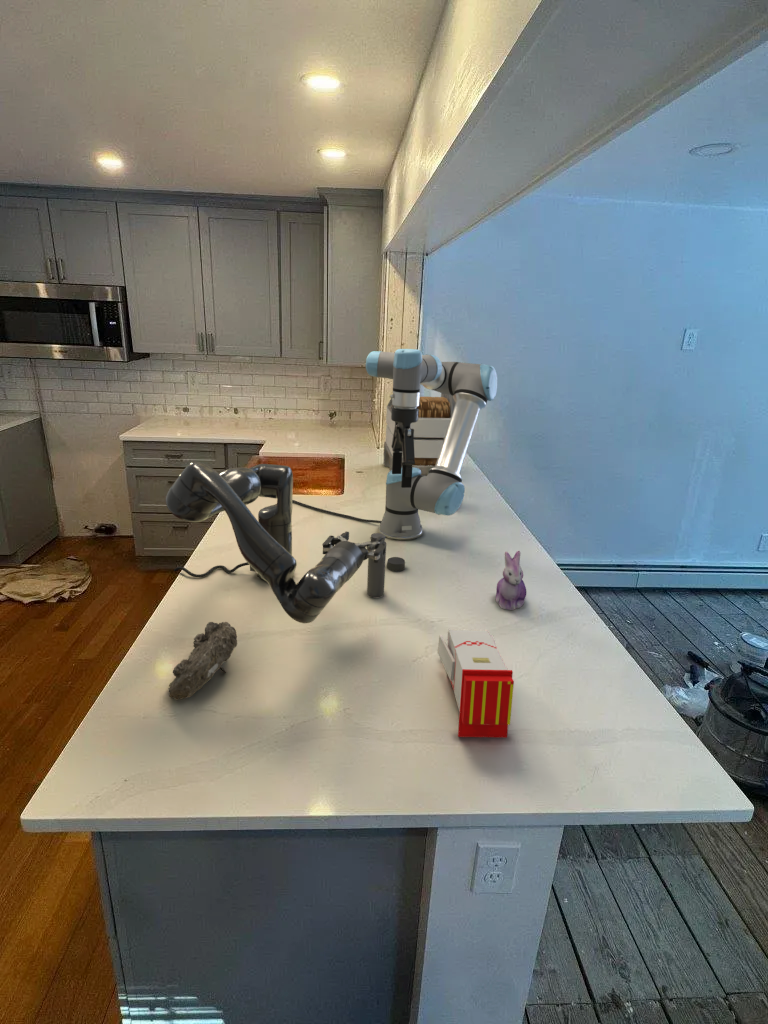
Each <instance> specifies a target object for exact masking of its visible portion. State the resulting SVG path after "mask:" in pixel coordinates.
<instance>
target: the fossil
mask: <svg viewBox="0 0 768 1024" xmlns="http://www.w3.org/2000/svg"><path fill="white" fill-rule="evenodd" d="M237 635H238V634H237V629H236V628H235V627H234V626H231V624H230V623H229V622H228V621H225V622H224V621H222V622H219V623H218V622H214V621H209V622H208V623H207V624H206V625H205V628H204V632H203V633H201V632H200V633H198V634H197V635H195V636H194V638H193V649H192V650H191V652H190V654H189V656H188V658H187V659H182V660H181V661H180V662H178V663H177V664H176V666H174V668H173V670H172V674H173V676H174V677H175V678H174V679H173V681H172V682H170V683H169V685H168V688H167V689H168V697H169V698H173V699H174V700H176V701H177V700H182V699H187V698H191V697H192V696H193V695H194V694H196V692H198V691H200V689H202V688H203V687H204V685H205V684H207V683H208V682H209V681H210V680H211V679H212V678H213V676H214V675H215V673H216V672H218V671H219V670H220V671H221V672H222V673H223V674H225V675H226V674H227V671H226V670H225V669H224V667H222V665H223V664H224V663H225V662H228V660H229V659H230V658H231V655H232V653H233V651H234V649H235V648H236V647H237V645H238V636H237Z"/></svg>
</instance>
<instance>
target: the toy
mask: <svg viewBox="0 0 768 1024" xmlns="http://www.w3.org/2000/svg"><path fill="white" fill-rule="evenodd" d="M446 640H447V643H446V641H445V639H444V636H443V635H442V634H439V637H438V646H437V656H438V657H439V659H440V661H441V663H442V666H443V668H444V670H445V672H446V674H447V677H448V679H449V681H450V684H451V687H452V690H453V693H454V697H455V701H456V705H457V708H458V711H459V714H458V715H459V716H458V730H457V731H458V732H457V737H458V738H508V731H509V726H510V725H511V717H512V707H513V697H514V696H513V695H514V684H515V680H514V679H513V673H514V671H513V670H512V669H508V667H507V665H506V662H505V661H504V659H503V658H502V655H501V653H500V651H499V649H498V647H497V643H496V639H495V637H494V635H493V634H491V632H490V631H489V629H467V628H466V629H465V628H463V629H461V628H460V629H459V628H448V630H447V639H446Z"/></svg>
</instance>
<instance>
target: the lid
mask: <svg viewBox="0 0 768 1024" xmlns="http://www.w3.org/2000/svg"><path fill="white" fill-rule="evenodd" d="M386 568H387V570H389V571H391V572H402V571H404V570H405V569H406V560H405V559H404V558H403V557H398V556H393V557H392V556H391V557H388V559H387V560H386Z"/></svg>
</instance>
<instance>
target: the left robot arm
mask: <svg viewBox="0 0 768 1024" xmlns="http://www.w3.org/2000/svg"><path fill="white" fill-rule="evenodd" d="M293 493H294V474H293V470H292V468H291V467H290V466H289V465H282V464H271V463H259V464H256V465H254V466H251V467H233V468H228V469H227V468H226V469H225V470H222V471H221V472H218V471H216V469H214V468H213V467H211V466H210V465H207V464H205V463H204V462H199V461H192V462H189V463H188V464H187V465H186V466H185V468H184V469H183V470H182V471H181V473H180V474H179V476H178V477H177V478H176V479H175V481H174V482H173V483H172V484H171V486H170V487H169V489H168V491H167V493H166V495H165V505H166V508H167V509H168V511H169V512H170V513H171V514H172V515H173V516H174V517H176V518H178V519H179V520H182V521H184V522H189V523H201V522H204V521H206V520H207V519H209V518H211V517H213V516H215V515H217V514H219V513H222V512H225V513H226V515H227V517H228V519H229V522H230V525H231V527H232V530H233V533H234V536H235V540H236V541H235V542H236V543H237V547H238V549H239V552H240V554H241V556H242V557H243V559H244V561H245V562H242V563H239V564H237V565H236V566H234V567H233V568H232V569H229V568H227V567H226V566H224V565H219V564H218V565H215V566H213V567H211V568H210V569H209V570H208V571H206V572H204V573H199V574H197V573H193V572H191V571H190V570H188V568H185V566H177V567H175V568H174V569H173V571H174V572H177V571H179V570H181V571H183V572H185V573H186V574H187V575H188V576H191V577H193V578H204V577H207V576H208V575H210V574H211V573H212V572H213V571H215V570H218V569H222V570H224V572H226V574H227V573H228V574H232V573H235V572H236V571H237V570H238V569H239V568H242V567H244V566H249V571H251V572H255V573H256V574H257V578H260V579H261V580H263V581H265V582H266V583H267V584H268V585H269V587H270V589H271V590H272V593H273V594H274V596H275V597H276V599H277V601H278V603H279V604H280V606H281V607H282V609H283V611H284V612H285V613H286V615H288V617H290V618H291V619H292V620H294V621H295V622H298V623H301V624H310V623H312V622H314V621H315V620H316V619H317V618H318V617H319V616H320V614H321V613H322V611H323V610H324V609H325V608H326V607H327V605H328V604H329V603H330V602H331V600H332V599H333V598H334V597H335V595H336V594H337V593H338V592H339V591H340V590H341V589H342V588H343V587H344V585H345V584H346V583H348V581H349V580H351V578H353V576H354V574H356V572H357V571H358V570H359V569H360V567H362V564H363V563H364V561H366V560H368V558H369V559H373V562H374V563H378V562H379V561H380V560H381V559H382V558H383V557H384V556H385V555H386V556H387V543H386V544H383V539H382V537H378V538H377V539H376V541H375V542H373V543H370V541H365V542H361V543H360V542H357V543H356V542H352V541H349V540H350V531H344V532H343V533H341V534H340V535H337V537H335V535H329V536H328V537H327V538H326V539H325V541H324V542H323V543H322V555H323V557H322V558H321V560H320V561H319V562H318V563H317V564H316V565H315V566H313V567H312V568H310V569H309V570H308V571H306V573H304V575H303V576H301V578H300V579H299V581H298V582H296V580H295V578H294V577H295V572H296V568H297V565H298V562H297V559H296V558H295V557H294V556H293V523H292V522H293V521H292V520H293V518H292V517H293V516H292V515H293V502H292V500H293ZM259 497H260V498H269V499H275V500H276V503H275V504H272V505H268V506H264V507H263V508H260V509H259V511H258V514H257V518H258V519H257V518H256V516H255V515H254V514H253V513H252V511H251V510H250V509H249V508H248V506H247V505H250V504H253V503H254V502H255V501H256V500H257V499H258V498H259ZM372 547H374V550H372Z"/></svg>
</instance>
